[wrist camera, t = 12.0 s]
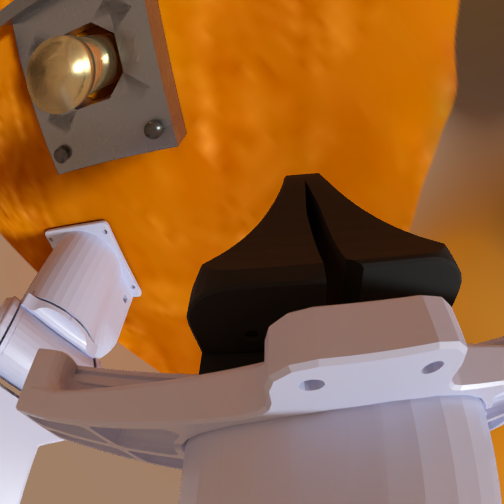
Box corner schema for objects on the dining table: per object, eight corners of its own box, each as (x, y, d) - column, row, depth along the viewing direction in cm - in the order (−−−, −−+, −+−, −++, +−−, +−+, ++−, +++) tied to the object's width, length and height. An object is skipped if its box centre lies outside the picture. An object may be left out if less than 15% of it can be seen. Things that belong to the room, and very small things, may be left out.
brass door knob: (140, 76, 18) (100, 97, 13) (87, 97, 19) (40, 125, 14) (124, 19, 15) (77, 21, 10) (70, 44, 16) (17, 59, 11)
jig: (186, 133, 21) (171, 155, 18) (73, 160, 22) (48, 184, 19) (148, -48, 12) (124, -60, 9) (30, 8, 13) (-4, 13, 10)
